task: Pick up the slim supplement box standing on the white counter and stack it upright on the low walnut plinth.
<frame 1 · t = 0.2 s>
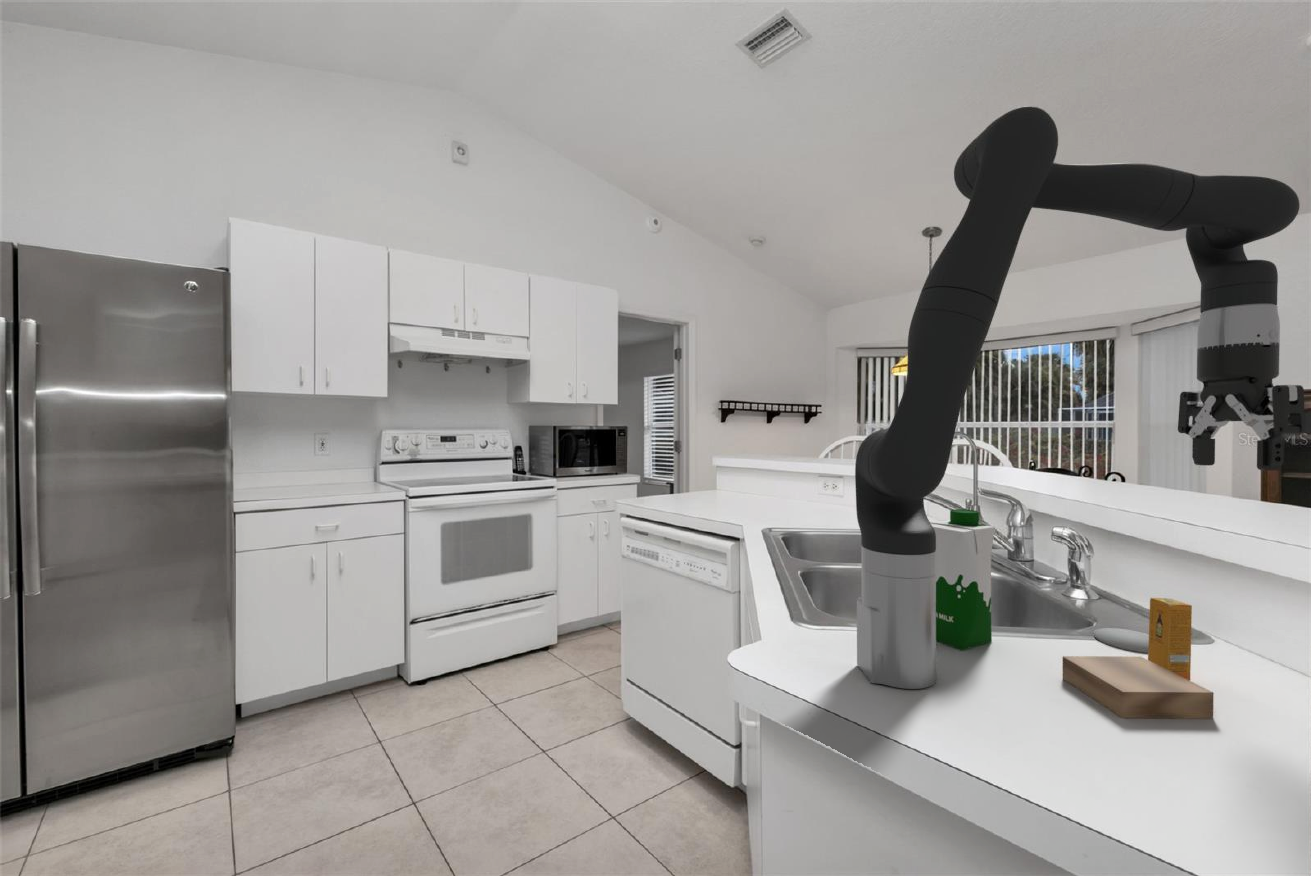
hand: (1234, 467, 74), 28 cm above the counter, fingers open, 8 cm apart
milk carton: (955, 640, 88), on the counter
grey coaster: (1131, 641, 87), on the counter
supplement box: (1169, 677, 75), on the counter
walnut plinth: (1132, 697, 69), on the counter
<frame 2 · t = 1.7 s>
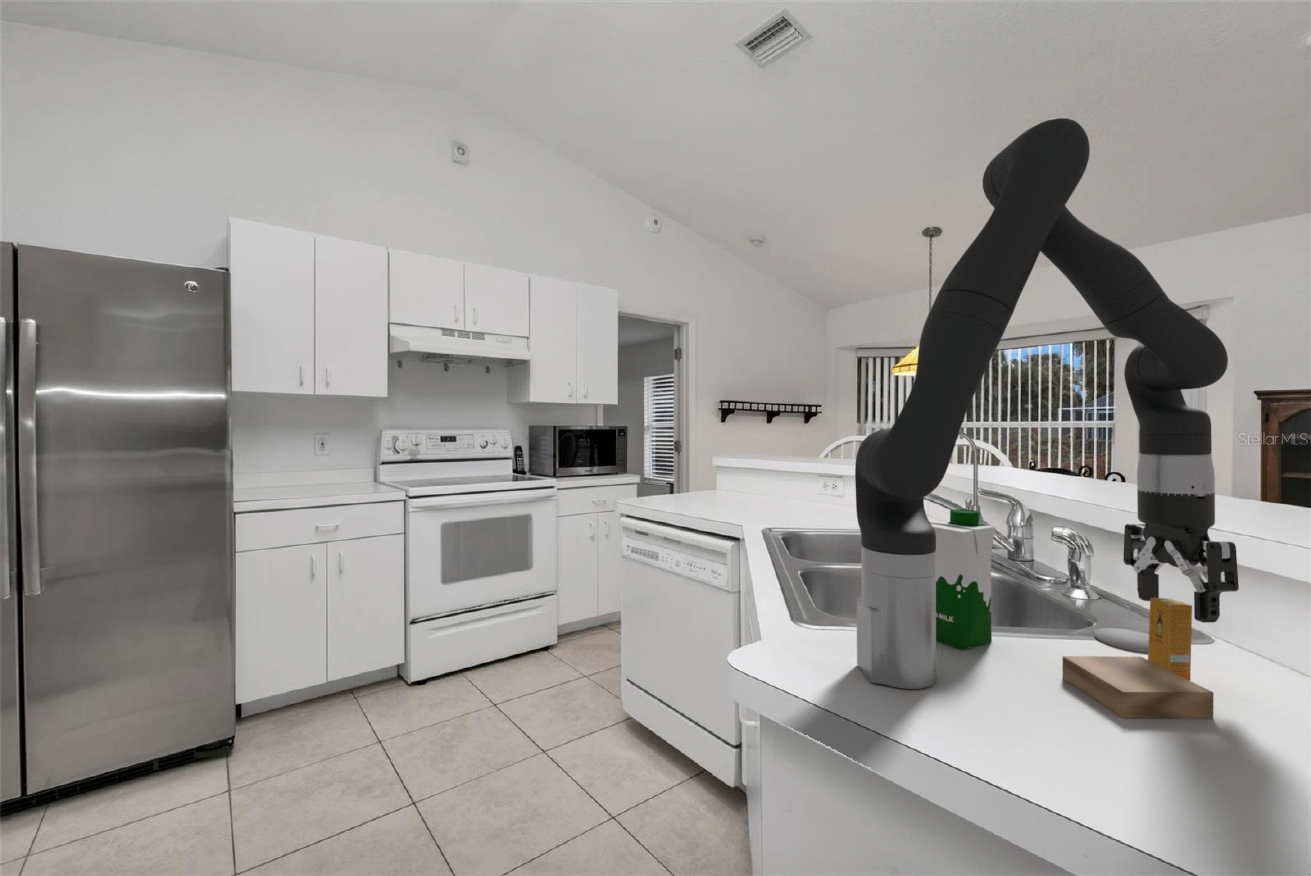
hand: (1175, 610, 74), 9 cm above the counter, fingers open, 8 cm apart
nothing on the counter moved.
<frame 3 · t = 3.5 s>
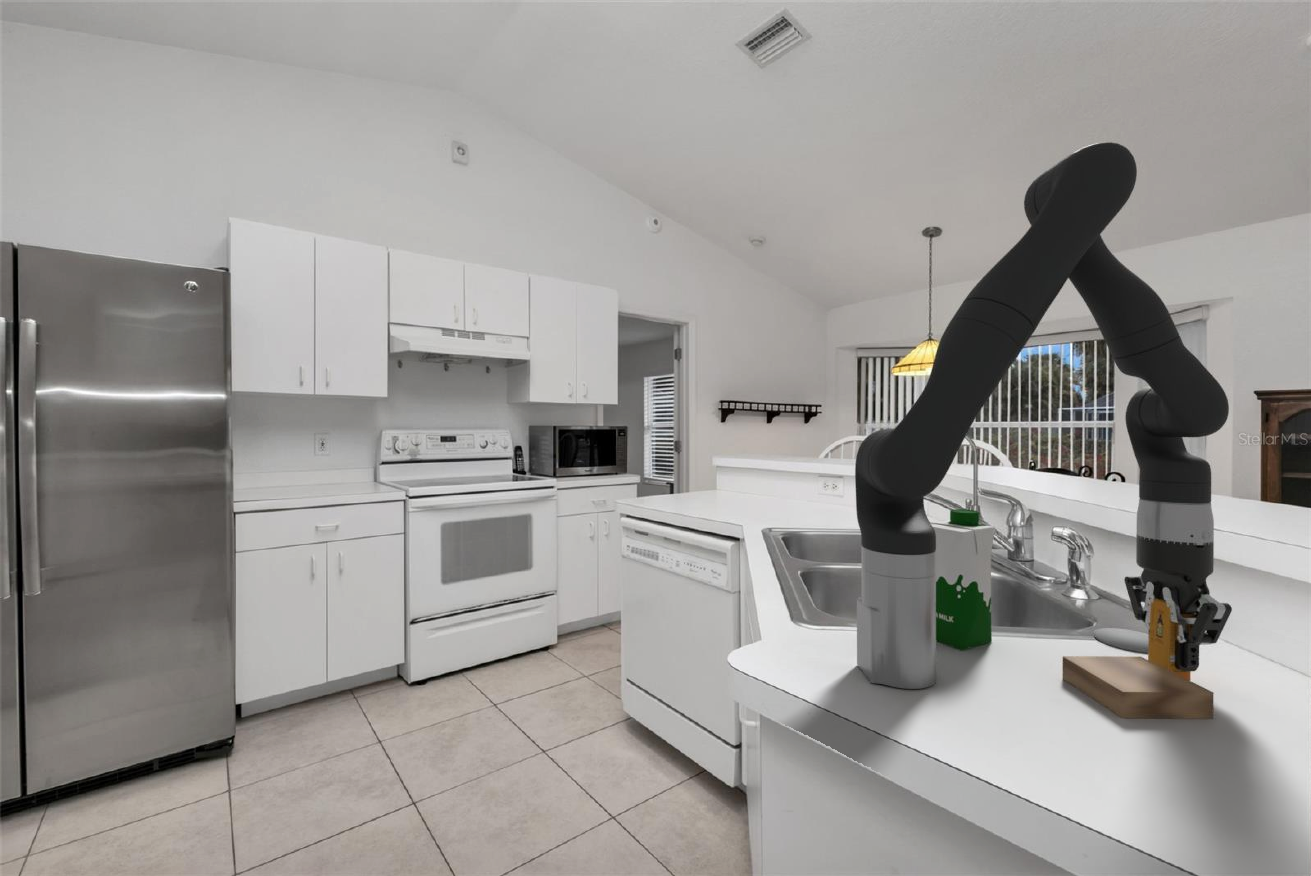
hand: (1172, 663, 75), 2 cm above the counter, fingers closed on supplement box, 3 cm apart
supplement box: (1169, 677, 75), on the counter, touching gripper
everything else where it was.
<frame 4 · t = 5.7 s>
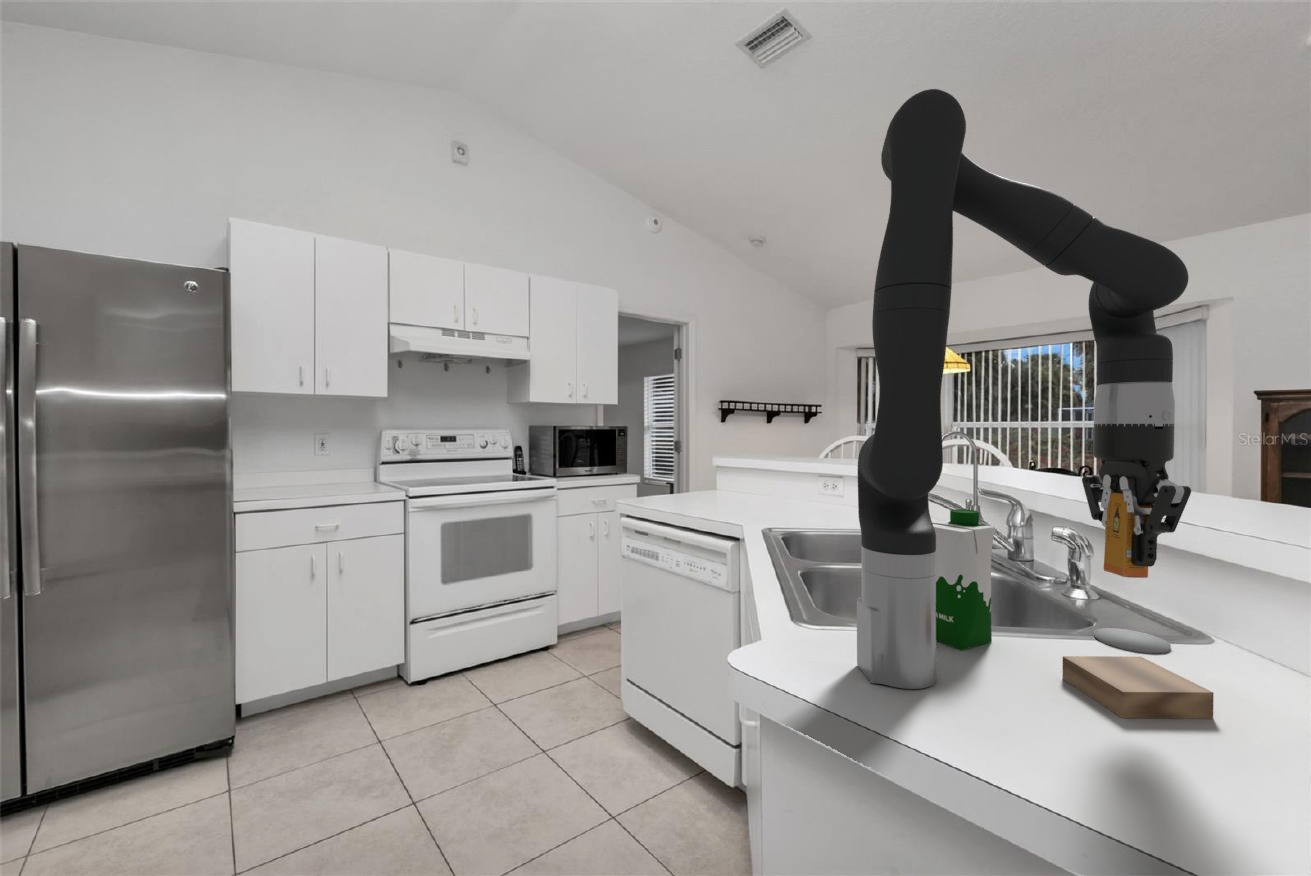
hand: (1129, 561, 69), 17 cm above the counter, fingers closed on supplement box, 3 cm apart
supplement box: (1126, 576, 69), point 15 cm above the counter, touching gripper
everything else where it was.
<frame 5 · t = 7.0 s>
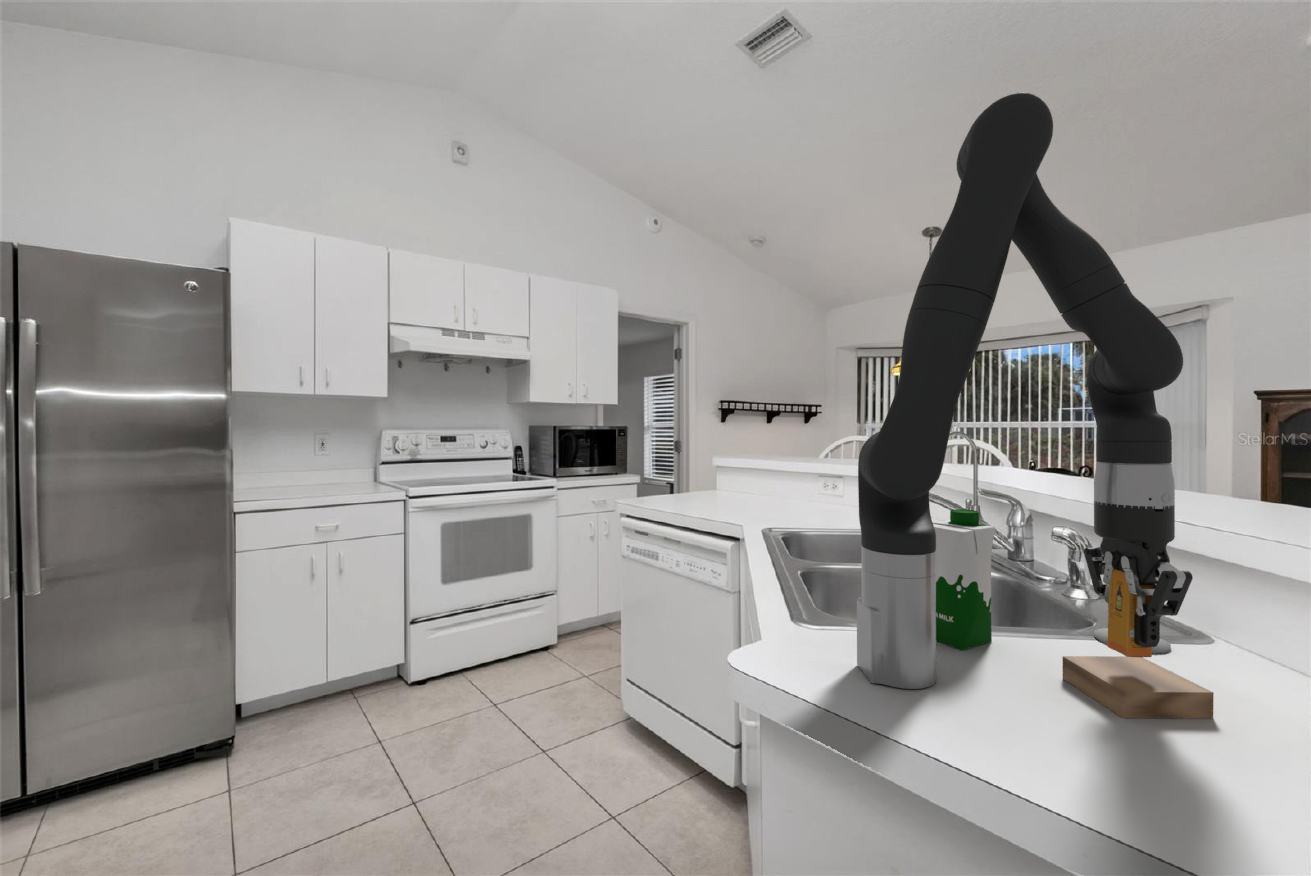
hand: (1133, 639, 69), 7 cm above the counter, fingers closed on supplement box, 3 cm apart
supplement box: (1130, 654, 69), point 5 cm above the counter, touching gripper
everything else where it was.
when the fingers open (5 cm above the counter, at t = 8.0 s): supplement box stays where it is, resting on walnut plinth.
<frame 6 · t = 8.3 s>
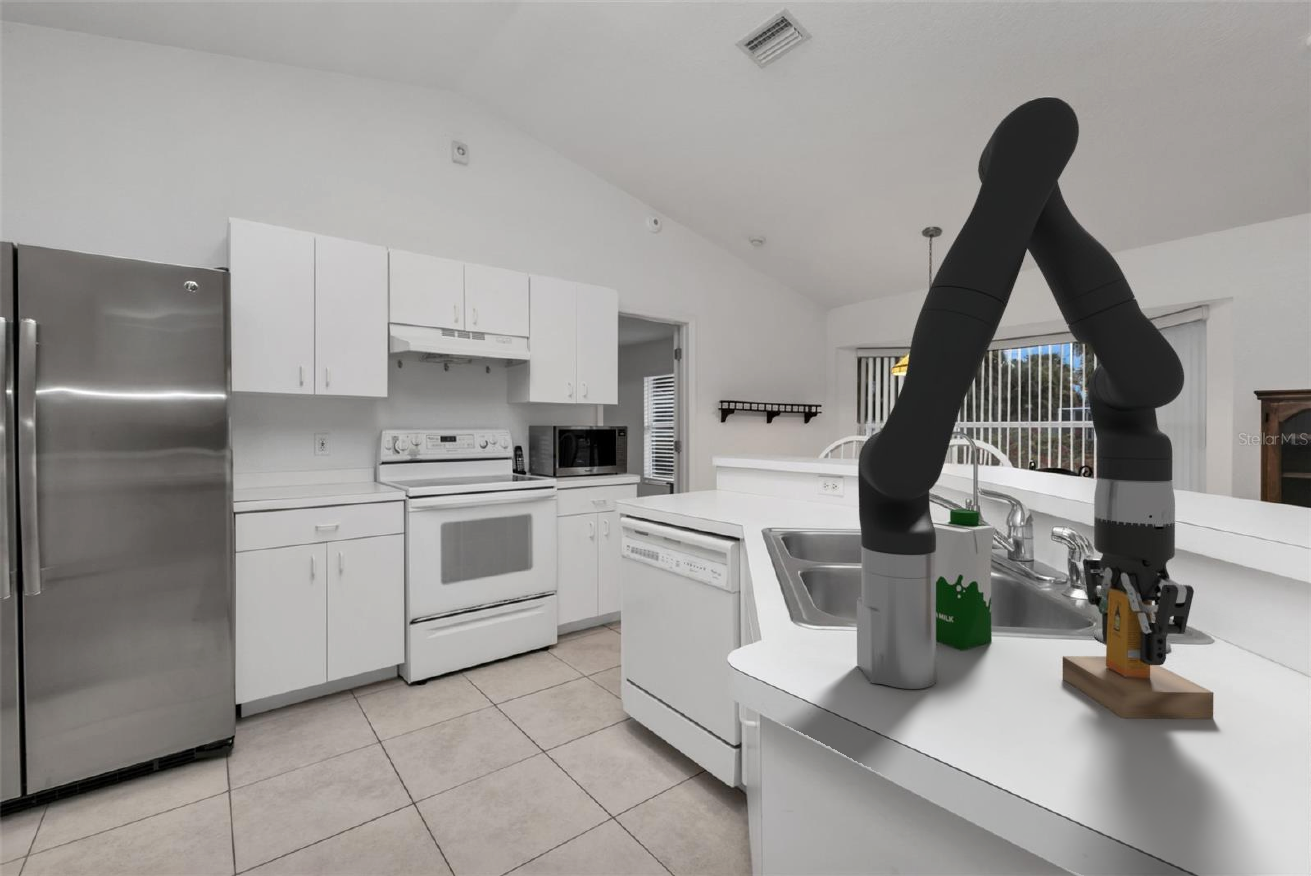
hand: (1132, 653, 69), 5 cm above the counter, fingers open, 5 cm apart
supplement box: (1128, 674, 69), point 3 cm above the counter, touching walnut plinth
everything else where it was.
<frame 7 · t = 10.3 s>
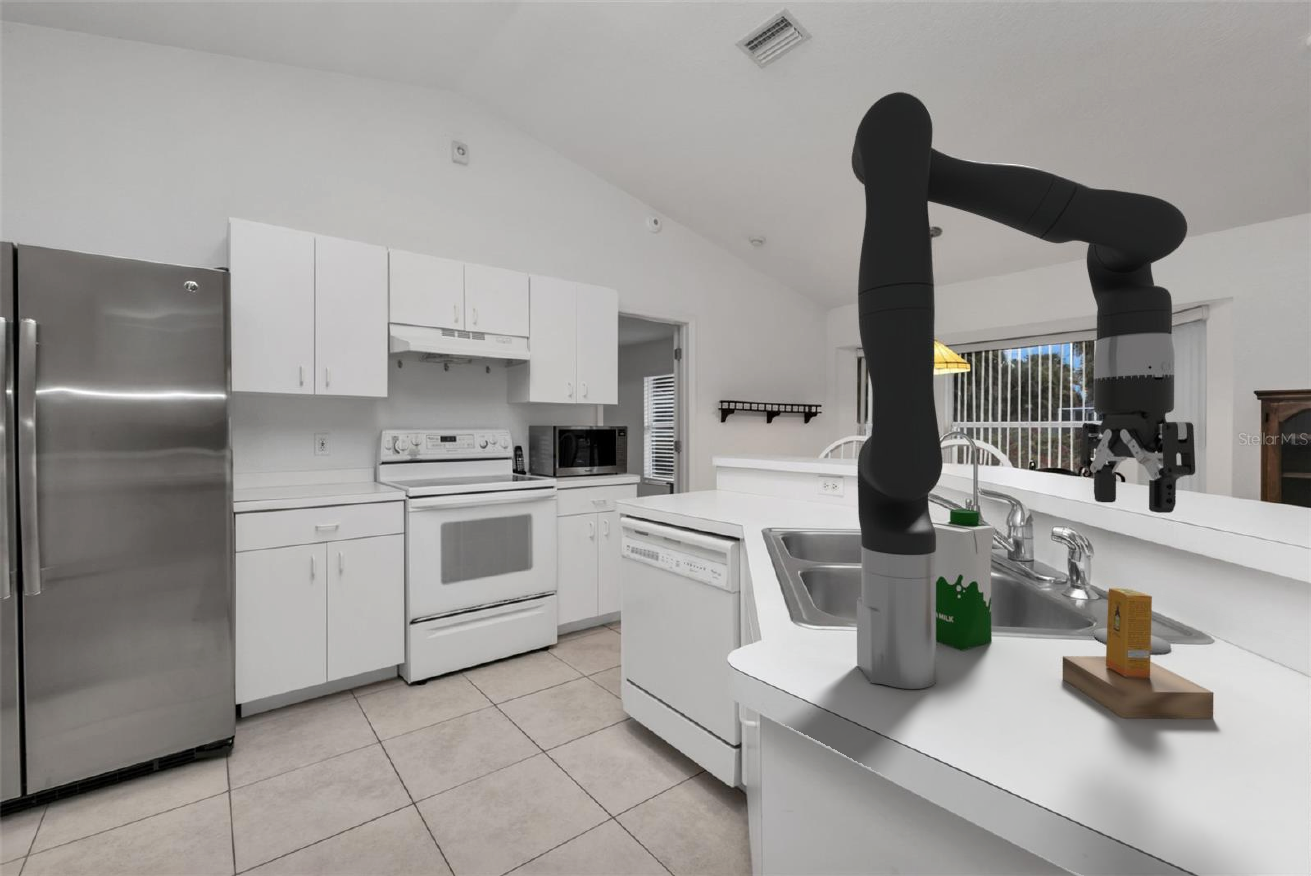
hand: (1131, 506, 69), 23 cm above the counter, fingers open, 8 cm apart
nothing on the counter moved.
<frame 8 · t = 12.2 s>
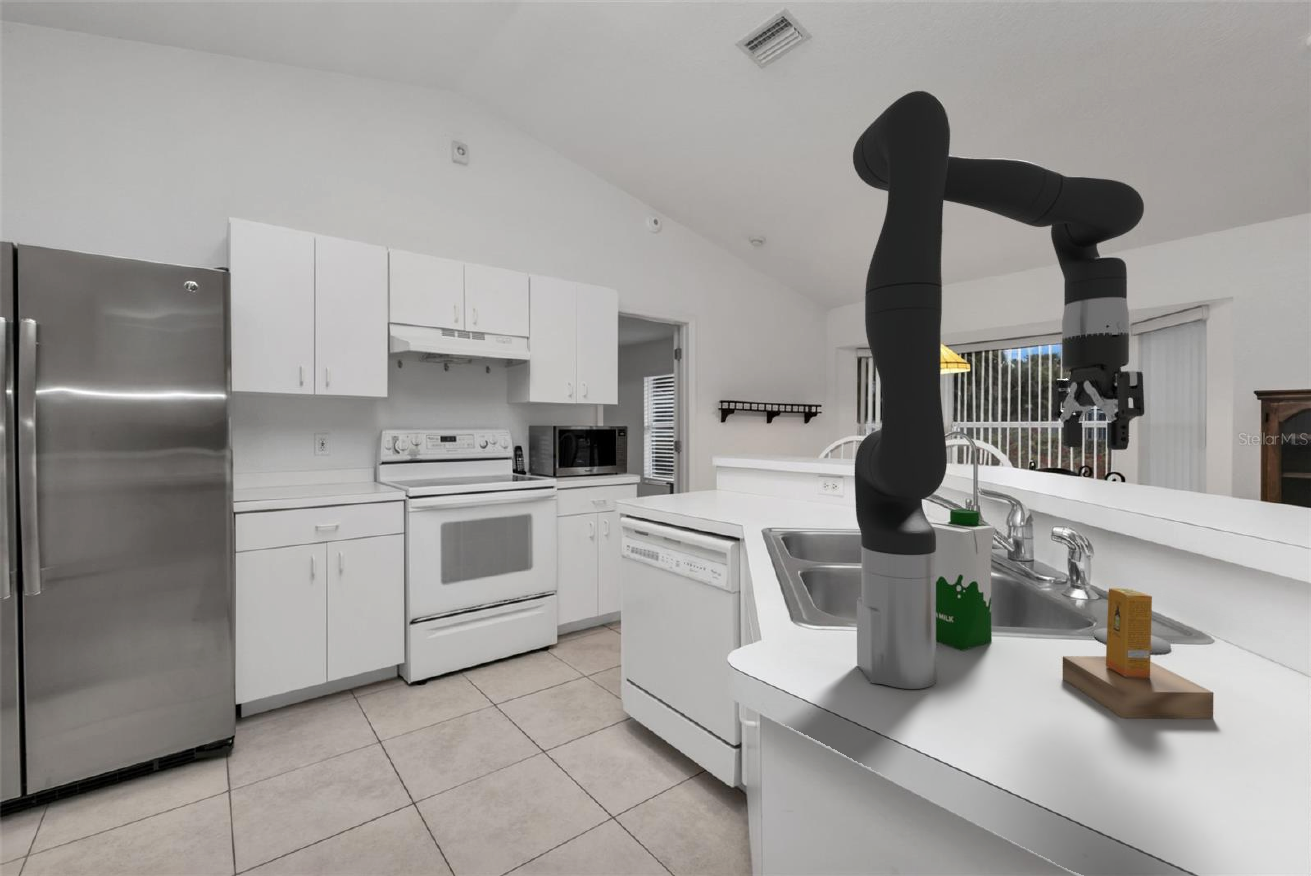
hand: (1094, 448, 80), 30 cm above the counter, fingers open, 8 cm apart
nothing on the counter moved.
at the end: supplement box inside the target area on the walnut plinth (0.4 cm from its centre), point 2.8 cm above the walnut plinth's base; supplement box tilted 0°; the gripper is holding nothing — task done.
